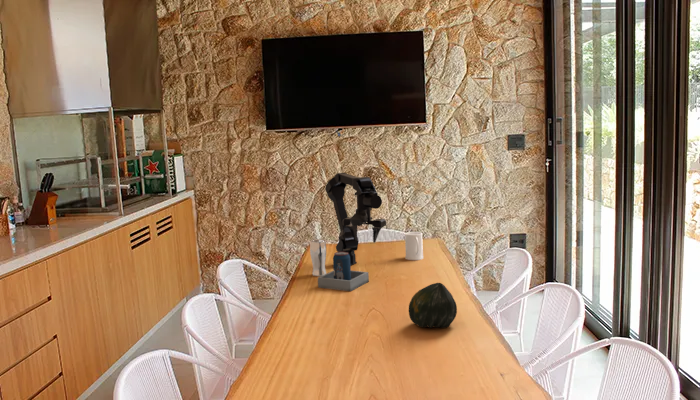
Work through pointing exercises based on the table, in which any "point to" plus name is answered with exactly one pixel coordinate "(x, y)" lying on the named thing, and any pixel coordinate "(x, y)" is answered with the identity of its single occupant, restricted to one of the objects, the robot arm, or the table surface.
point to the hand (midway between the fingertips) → (365, 241)
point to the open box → (343, 281)
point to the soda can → (341, 266)
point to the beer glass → (318, 256)
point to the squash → (433, 307)
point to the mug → (414, 245)
